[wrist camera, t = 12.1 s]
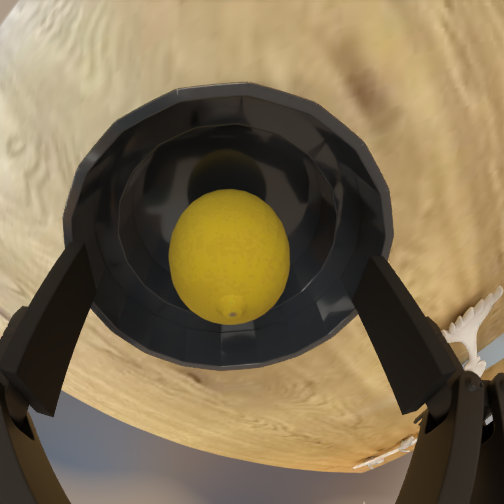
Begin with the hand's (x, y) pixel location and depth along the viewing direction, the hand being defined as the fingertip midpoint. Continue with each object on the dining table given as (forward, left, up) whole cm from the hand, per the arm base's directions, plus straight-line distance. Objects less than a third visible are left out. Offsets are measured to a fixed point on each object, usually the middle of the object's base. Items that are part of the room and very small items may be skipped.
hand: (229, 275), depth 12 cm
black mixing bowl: (0, 0, -6) cm, 6 cm away
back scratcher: (+38, +12, -6) cm, 40 cm away
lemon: (0, 0, -6) cm, 6 cm away
